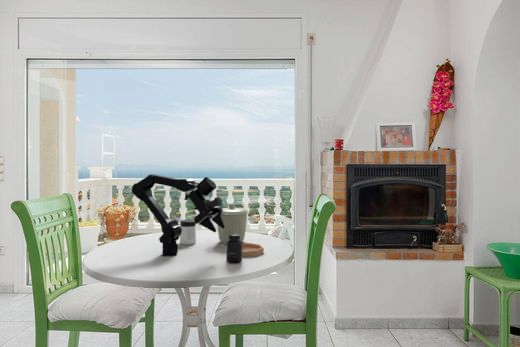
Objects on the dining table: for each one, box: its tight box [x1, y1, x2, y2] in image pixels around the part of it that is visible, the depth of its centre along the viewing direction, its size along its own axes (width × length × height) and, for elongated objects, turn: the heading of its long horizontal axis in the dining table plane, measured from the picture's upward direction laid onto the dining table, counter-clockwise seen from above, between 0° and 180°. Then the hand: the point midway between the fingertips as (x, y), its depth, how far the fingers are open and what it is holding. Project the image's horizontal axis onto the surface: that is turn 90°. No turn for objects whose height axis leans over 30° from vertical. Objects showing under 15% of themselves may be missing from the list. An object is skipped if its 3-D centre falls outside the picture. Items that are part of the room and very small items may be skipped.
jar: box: [179, 219, 197, 246], centre depth 194 cm, size 9×8×12 cm
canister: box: [216, 202, 249, 244], centre depth 197 cm, size 18×18×21 cm
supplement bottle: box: [225, 233, 243, 265], centre depth 158 cm, size 7×7×12 cm
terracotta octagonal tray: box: [225, 242, 264, 258], centre depth 175 cm, size 17×17×2 cm
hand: (219, 229), depth 163 cm, fingers open, 9 cm apart
